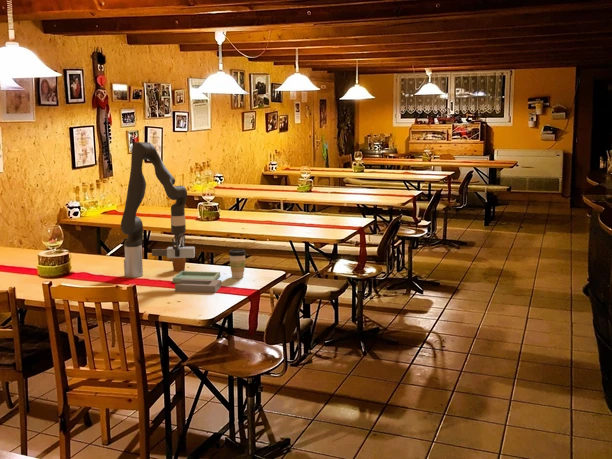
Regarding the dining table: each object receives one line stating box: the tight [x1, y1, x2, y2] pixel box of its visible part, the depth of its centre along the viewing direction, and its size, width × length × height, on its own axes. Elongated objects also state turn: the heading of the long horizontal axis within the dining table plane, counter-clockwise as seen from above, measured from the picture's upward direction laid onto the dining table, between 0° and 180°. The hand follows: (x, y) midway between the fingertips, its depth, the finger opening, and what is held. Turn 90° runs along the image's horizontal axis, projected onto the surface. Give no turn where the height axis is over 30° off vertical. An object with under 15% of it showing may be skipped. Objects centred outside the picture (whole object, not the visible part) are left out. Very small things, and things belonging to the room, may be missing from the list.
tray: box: [172, 270, 221, 284], centre depth 342 cm, size 22×16×2 cm
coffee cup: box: [228, 248, 247, 280], centre depth 346 cm, size 10×10×15 cm
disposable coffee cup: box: [171, 258, 187, 273], centre depth 361 cm, size 10×10×12 cm
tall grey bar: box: [151, 246, 196, 259], centre depth 330 cm, size 22×5×5 cm, turn 94°
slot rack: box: [174, 279, 222, 294], centre depth 323 cm, size 21×12×4 cm, turn 84°
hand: (179, 255), depth 331 cm, fingers closed on tall grey bar, 5 cm apart
